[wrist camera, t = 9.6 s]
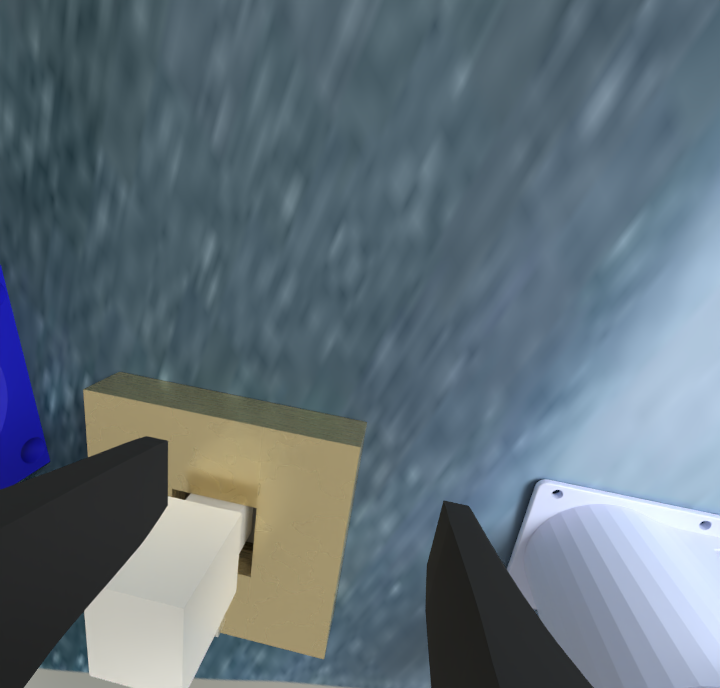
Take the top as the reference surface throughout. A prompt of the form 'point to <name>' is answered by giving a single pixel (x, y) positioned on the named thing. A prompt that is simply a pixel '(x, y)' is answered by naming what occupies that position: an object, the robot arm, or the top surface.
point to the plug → (169, 596)
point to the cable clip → (16, 405)
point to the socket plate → (252, 492)
